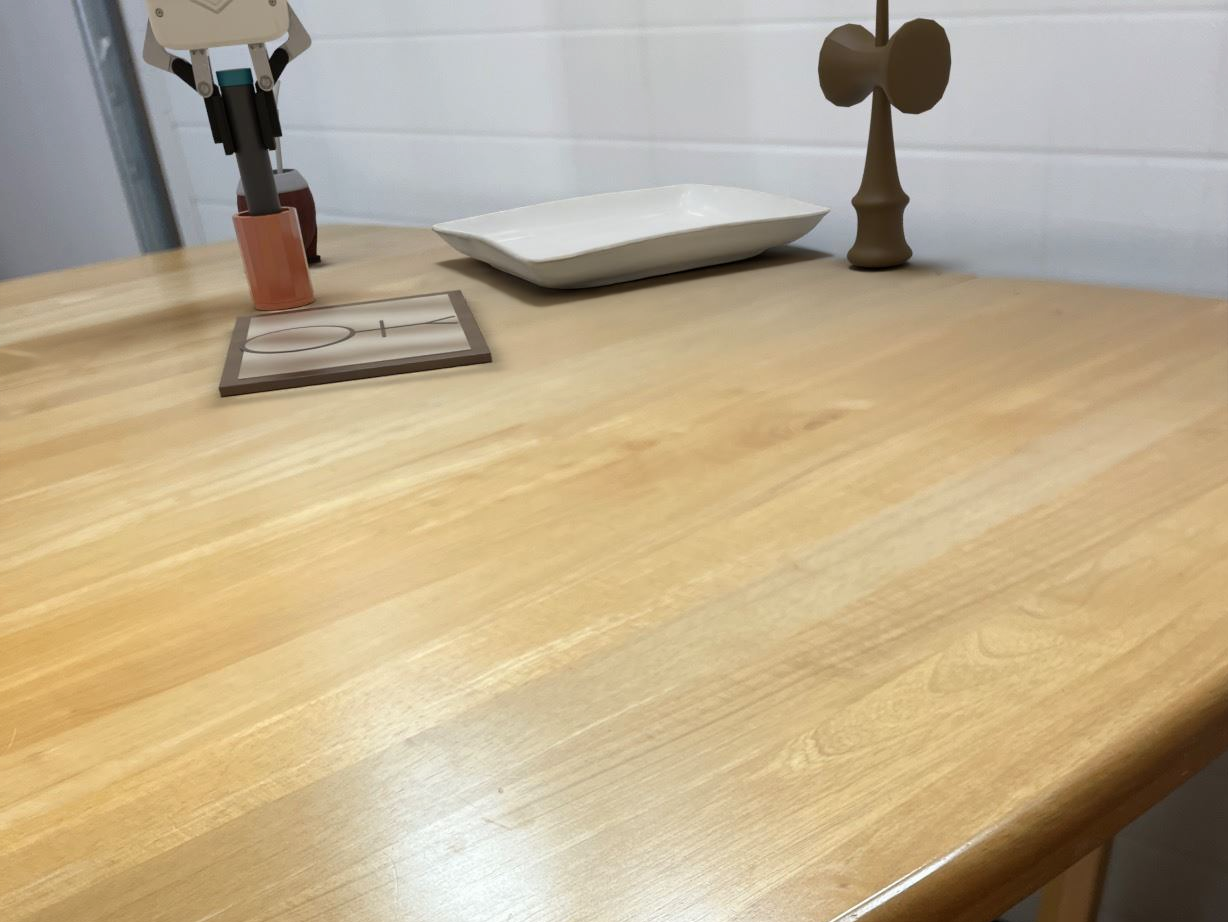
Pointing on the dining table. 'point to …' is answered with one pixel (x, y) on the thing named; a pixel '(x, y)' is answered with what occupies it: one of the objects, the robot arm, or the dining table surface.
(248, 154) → the marker
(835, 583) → the dining table surface
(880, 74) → the kendama
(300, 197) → the mate gourd
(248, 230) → the pen cup
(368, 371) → the framed picture
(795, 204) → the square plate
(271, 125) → the robot arm
